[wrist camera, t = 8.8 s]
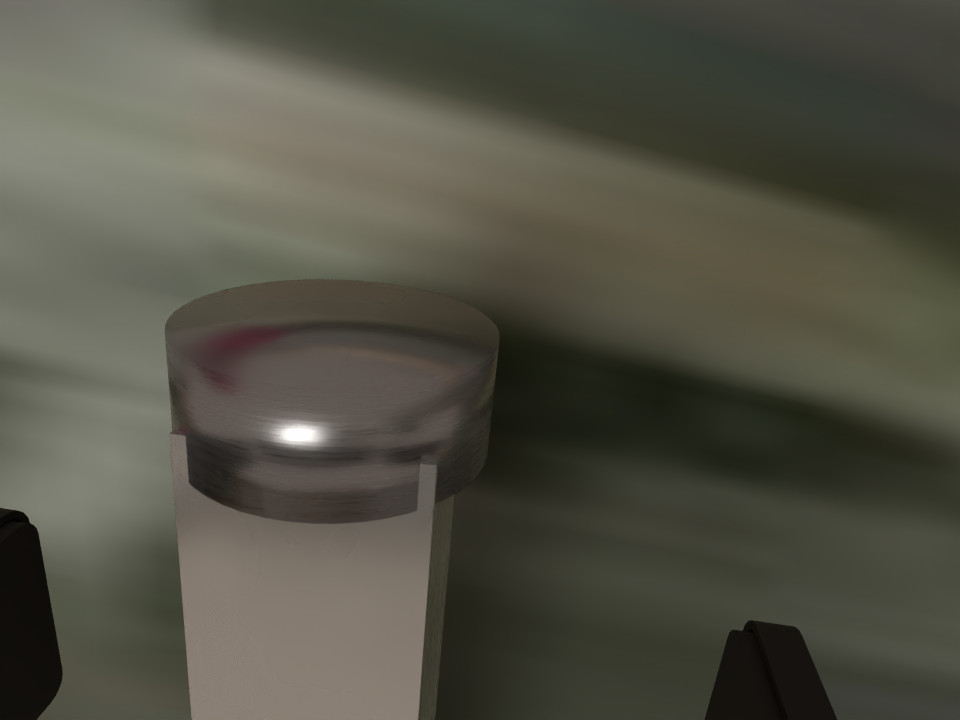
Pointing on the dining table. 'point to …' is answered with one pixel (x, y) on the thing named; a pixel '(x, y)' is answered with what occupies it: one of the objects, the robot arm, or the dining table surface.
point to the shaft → (321, 491)
